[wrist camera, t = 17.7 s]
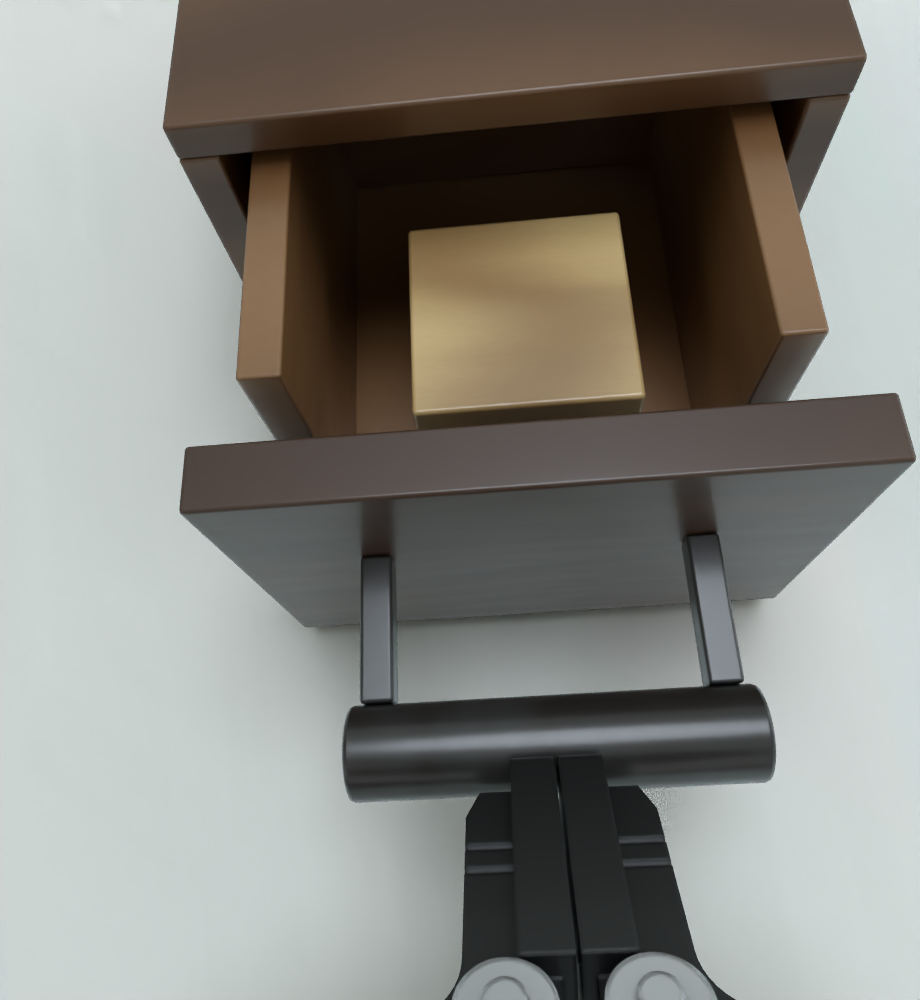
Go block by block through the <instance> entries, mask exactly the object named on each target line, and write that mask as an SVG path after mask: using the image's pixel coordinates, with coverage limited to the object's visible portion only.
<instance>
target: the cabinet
mask: <svg viewBox="0 0 920 1000" xmlns="http://www.w3.org/2000/svg"><path fill="white" fill-rule="evenodd" d="M866 58H867V55H866V52H865V49H864V46H863V43H862V40H861V36H860V33H859V30H858V27H857V24H856V21H855V18H854V15H853V12H852V9H851V6H850V3H849V0H179V5H178V13H177V21H176V28H175V36H174V44H173V52H172V60H171V67H170V75H169V83H168V91H167V99H166V106H165V114H164V122H163V129H164V132H165V133H166V135H167V137H168V139H169V141H170V143H171V145H172V147H173V149H174V151H175V153H176V154H177V156H178V157H179V158H180V163H181V165H182V167H183V169H184V171H185V173H186V175H187V176H188V178H189V180H190V182H191V184H192V186H193V188H194V190H195V192H196V194H197V196H198V197H199V199H200V201H201V203H202V205H203V207H204V209H205V211H206V213H207V215H208V217H209V218H210V220H211V222H212V224H213V226H214V228H215V230H216V232H217V234H218V236H219V237H220V239H221V241H222V243H223V245H224V247H225V249H226V251H227V253H228V255H229V257H230V258H231V260H232V262H233V264H234V266H235V268H236V270H237V272H238V274H239V276H240V278H241V279H242V281H243V273H244V259H245V245H246V231H247V217H248V203H249V189H250V175H251V160H252V152H259V151H270V150H280V149H290V148H300V147H311V146H321V145H331V144H341V143H351V142H362V141H372V140H382V139H392V138H402V137H413V136H423V135H433V134H443V133H454V132H464V131H474V130H484V129H494V128H505V127H515V126H525V125H535V124H545V123H556V122H566V121H576V120H586V119H597V118H607V117H617V116H627V115H637V114H648V113H658V112H668V111H678V110H688V109H699V108H709V107H719V106H729V105H740V104H750V103H760V102H771V106H772V110H773V114H774V118H775V121H776V125H777V129H778V133H779V137H780V141H781V145H782V149H783V153H784V157H785V161H786V164H787V168H788V172H789V176H790V180H791V184H792V188H793V192H794V196H795V200H796V204H797V207H798V211H799V214H800V212H801V209H802V207H803V205H804V203H805V200H806V198H807V196H808V193H809V191H810V189H811V186H812V184H813V182H814V179H815V177H816V175H817V173H818V170H819V168H820V166H821V163H822V161H823V159H824V156H825V154H826V152H827V149H828V147H829V145H830V142H831V140H832V138H833V136H834V133H835V131H836V129H837V126H838V124H839V122H840V119H841V117H842V115H843V112H844V110H845V108H846V105H847V103H848V101H849V98H850V93H851V92H852V91H853V89H854V87H855V85H856V82H857V80H858V78H859V76H860V73H861V71H862V69H863V66H864V64H865V62H866Z"/></svg>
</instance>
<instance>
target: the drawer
mask: <svg viewBox="0 0 920 1000" xmlns="http://www.w3.org/2000/svg"><path fill="white" fill-rule="evenodd" d="M611 212H616V213H618V215H619V218H620V224H621V231H622V238H623V245H624V251H625V258H626V265H627V271H628V278H629V285H630V292H631V298H632V305H633V312H634V319H635V325H636V332H637V339H638V345H639V352H640V359H641V366H642V372H643V379H644V386H645V393H646V396H645V400H644V404H643V407H642V411H641V412H640V413H627V414H614V415H600V416H587V417H574V418H561V419H548V420H535V421H522V422H509V423H496V424H483V425H470V426H457V427H444V428H431V429H418V430H417V428H416V425H415V421H414V418H413V414H412V384H411V341H410V298H409V255H408V235H409V232H410V231H413V230H424V229H435V228H446V227H457V226H468V225H479V224H490V223H501V222H512V221H523V220H534V219H545V218H556V217H567V216H578V215H589V214H600V213H611ZM828 331H829V329H828V325H827V321H826V317H825V313H824V309H823V305H822V301H821V297H820V293H819V290H818V286H817V282H816V278H815V274H814V270H813V266H812V262H811V258H810V254H809V250H808V247H807V243H806V239H805V235H804V231H803V227H802V223H801V219H800V215H799V211H798V207H797V204H796V200H795V196H794V192H793V188H792V184H791V180H790V176H789V172H788V168H787V164H786V161H785V157H784V153H783V149H782V145H781V141H780V137H779V133H778V129H777V125H776V121H775V118H774V114H773V110H772V106H771V102H760V103H750V104H740V105H729V106H719V107H709V108H699V109H688V110H678V111H668V112H658V113H648V114H637V115H627V116H617V117H607V118H597V119H586V120H576V121H566V122H556V123H545V124H535V125H525V126H515V127H505V128H494V129H484V130H474V131H464V132H454V133H443V134H433V135H423V136H413V137H402V138H392V139H382V140H372V141H362V142H351V143H341V144H331V145H321V146H311V147H300V148H290V149H280V150H270V151H259V152H252V160H251V175H250V189H249V203H248V217H247V231H246V245H245V259H244V273H243V287H242V301H241V315H240V329H239V343H238V357H237V371H236V379H237V381H238V383H239V384H240V386H241V387H242V389H243V390H244V392H245V394H246V395H247V397H248V398H249V400H250V401H251V403H252V404H253V406H254V407H255V409H256V410H257V412H258V413H259V415H260V417H261V418H262V420H263V421H264V423H265V424H266V426H267V427H268V429H269V430H270V432H271V433H272V435H273V436H274V438H275V440H274V441H261V442H248V443H235V444H221V445H208V446H195V447H188V448H186V450H185V457H184V467H183V478H182V488H181V499H180V514H181V515H182V516H183V517H184V518H186V519H187V520H188V521H189V522H190V523H191V524H192V525H193V526H194V527H196V528H197V529H198V530H199V531H200V532H201V533H202V534H203V535H204V536H205V537H207V538H208V539H209V540H210V541H211V542H212V543H213V544H214V545H215V546H216V547H218V548H219V549H220V550H221V551H222V552H223V553H224V554H225V555H226V556H227V557H229V558H230V559H231V560H232V561H233V562H234V563H235V564H236V565H237V566H238V567H240V568H241V569H242V570H243V571H244V572H245V573H246V574H247V575H248V576H250V577H251V578H252V579H253V580H254V581H255V582H256V583H257V584H258V585H259V586H261V587H262V588H263V589H264V590H265V591H266V592H267V593H268V594H269V595H270V596H272V597H273V598H274V599H275V600H276V601H277V602H278V603H279V604H280V605H281V606H283V607H284V608H285V609H286V610H287V611H288V612H289V613H290V614H291V615H292V616H294V617H295V618H296V619H297V620H298V621H299V622H300V623H301V624H302V625H304V626H305V627H317V626H333V625H349V624H360V701H361V703H362V704H363V705H365V706H354V707H352V708H350V709H349V711H348V713H347V716H346V720H345V724H344V730H343V742H342V763H343V775H344V782H345V787H346V791H347V794H348V796H349V798H350V800H351V801H353V802H355V803H361V802H382V801H402V800H422V799H442V798H462V797H478V795H479V793H488V792H509V791H511V775H510V758H523V757H543V756H553V757H554V764H555V772H556V781H557V790H558V773H557V756H559V755H579V754H599V753H601V755H602V758H603V763H604V768H605V773H606V778H607V783H608V787H610V786H632V785H638V786H639V788H640V789H644V788H664V787H684V786H705V785H725V784H745V783H765V782H767V781H769V780H771V778H772V777H773V774H774V770H775V763H776V743H775V734H774V728H773V723H772V718H771V714H770V711H769V708H768V705H767V702H766V700H765V698H764V696H763V694H762V692H761V690H760V689H759V688H758V687H757V686H755V685H753V684H740V683H742V682H743V681H744V675H743V670H742V664H741V658H740V652H739V647H738V641H737V635H736V630H735V624H734V618H733V612H732V607H731V601H732V600H748V599H764V598H774V597H776V596H777V595H778V594H779V593H780V592H781V591H782V590H783V589H784V588H785V587H786V586H787V585H788V584H789V583H790V582H791V581H792V580H793V579H794V578H795V577H796V576H797V575H798V574H799V573H800V572H801V571H802V570H804V569H805V568H806V567H807V566H808V565H809V564H810V563H811V562H812V561H813V560H814V559H815V558H816V557H817V556H818V555H819V554H820V553H821V552H822V551H823V550H824V549H825V548H826V547H827V546H828V545H829V544H830V543H831V542H832V541H833V540H834V539H836V538H837V537H838V536H839V535H840V534H841V533H842V532H843V531H844V530H845V529H846V528H847V527H848V526H849V525H850V524H851V523H852V522H853V521H854V520H855V519H856V518H857V517H858V516H859V515H860V514H861V513H862V512H863V511H864V510H865V509H866V508H868V507H869V506H870V505H871V504H872V503H873V502H874V501H875V500H876V499H877V498H878V497H879V496H880V495H881V494H882V493H883V492H884V491H885V490H886V489H887V488H888V487H889V486H890V485H891V484H892V483H893V482H894V481H895V480H896V479H897V478H899V477H900V476H901V475H902V474H903V473H904V472H905V471H906V470H907V469H908V468H909V467H910V466H911V465H912V464H913V463H914V462H915V460H916V455H915V452H914V448H913V445H912V441H911V438H910V434H909V431H908V427H907V424H906V420H905V417H904V413H903V410H902V406H901V403H900V399H899V396H898V394H896V393H888V394H875V395H862V396H849V397H836V398H823V399H810V400H797V401H788V399H789V398H790V396H791V394H792V392H793V391H794V389H795V387H796V386H797V384H798V382H799V381H800V379H801V377H802V376H803V374H804V372H805V370H806V369H807V367H808V365H809V364H810V362H811V360H812V359H813V357H814V355H815V354H816V352H817V350H818V349H819V347H820V345H821V343H822V342H823V340H824V338H825V337H826V335H827V333H828ZM684 603H690V605H691V611H692V617H693V624H694V630H695V637H696V643H697V650H698V656H699V663H700V669H701V675H702V682H703V686H700V687H683V688H665V689H647V690H630V691H612V692H594V693H577V694H559V695H541V696H524V697H506V698H488V699H471V700H453V701H435V702H418V703H400V704H397V703H398V668H397V621H413V620H429V619H445V618H461V617H477V616H493V615H509V614H525V613H540V612H556V611H572V610H588V609H604V608H620V607H636V606H652V605H668V604H684Z"/></svg>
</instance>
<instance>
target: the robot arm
mask: <svg viewBox="0 0 920 1000" xmlns="http://www.w3.org/2000/svg"><path fill="white" fill-rule="evenodd" d="M557 773H558V790H557V781H556V772H555V764H554V757H553V756H543V757H523V758H510V775H511V791H509V792H488V793H479V795H478V797H477V799H476V800H475V802H474V804H473V806H472V808H471V810H470V811H469V813H468V815H467V817H466V837H465V874H464V909H463V944H462V964H461V970H460V974H459V978H458V980H457V982H456V984H455V986H454V988H453V989H452V991H451V993H450V994H449V995H448V997H447V998H446V999H445V1000H735V999H734V998H732V997H731V996H729V995H727V994H726V993H725V992H723V991H722V990H721V989H720V988H719V987H717V986H716V985H715V984H714V982H713V981H712V980H711V979H710V978H709V977H708V976H707V974H706V973H705V971H704V970H703V969H702V967H701V965H700V963H699V961H698V959H697V956H696V953H695V950H694V946H693V943H692V939H691V935H690V931H689V927H688V924H687V920H686V916H685V912H684V909H683V905H682V901H681V897H680V893H679V890H678V886H677V882H676V878H675V874H674V871H673V867H672V866H671V859H670V856H669V852H668V848H667V844H666V842H665V837H664V833H663V829H662V825H661V821H660V818H659V814H658V810H657V808H656V807H655V806H654V804H653V803H652V802H651V801H650V800H649V798H648V797H647V796H646V795H645V794H644V792H643V791H642V790H641V789H640V788H639V786H638V785H632V786H610V787H608V783H607V778H606V773H605V768H604V763H603V758H602V755H601V753H599V754H579V755H559V756H557ZM558 793H559V798H558Z"/></svg>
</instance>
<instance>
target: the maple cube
mask: <svg viewBox="0 0 920 1000" xmlns="http://www.w3.org/2000/svg"><path fill="white" fill-rule="evenodd" d="M408 255H409V298H410V341H411V384H412V414H413V418H414V421H415V425H416V428H417V430H418V429H431V428H444V427H457V426H470V425H483V424H496V423H509V422H522V421H535V420H548V419H561V418H574V417H587V416H600V415H614V414H627V413H640V412H641V411H642V407H643V404H644V400H645V396H646V393H645V386H644V379H643V372H642V366H641V359H640V352H639V345H638V339H637V332H636V325H635V319H634V312H633V305H632V298H631V292H630V285H629V278H628V271H627V265H626V258H625V251H624V245H623V238H622V231H621V224H620V218H619V215H618V213H616V212H611V213H600V214H589V215H578V216H567V217H556V218H545V219H534V220H523V221H512V222H501V223H490V224H479V225H468V226H457V227H446V228H435V229H424V230H413V231H410V232H409V235H408Z"/></svg>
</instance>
